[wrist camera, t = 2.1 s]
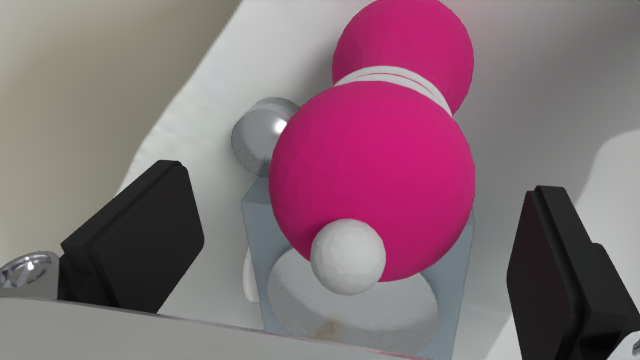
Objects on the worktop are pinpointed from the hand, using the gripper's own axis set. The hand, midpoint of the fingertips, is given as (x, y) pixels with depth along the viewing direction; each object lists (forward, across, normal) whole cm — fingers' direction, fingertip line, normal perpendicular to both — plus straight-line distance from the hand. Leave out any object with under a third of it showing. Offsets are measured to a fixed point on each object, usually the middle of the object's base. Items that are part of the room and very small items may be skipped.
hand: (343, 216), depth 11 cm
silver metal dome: (+18, +8, +6) cm, 20 cm away
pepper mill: (+17, -1, 0) cm, 17 cm away
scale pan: (+13, +2, +18) cm, 22 cm away
